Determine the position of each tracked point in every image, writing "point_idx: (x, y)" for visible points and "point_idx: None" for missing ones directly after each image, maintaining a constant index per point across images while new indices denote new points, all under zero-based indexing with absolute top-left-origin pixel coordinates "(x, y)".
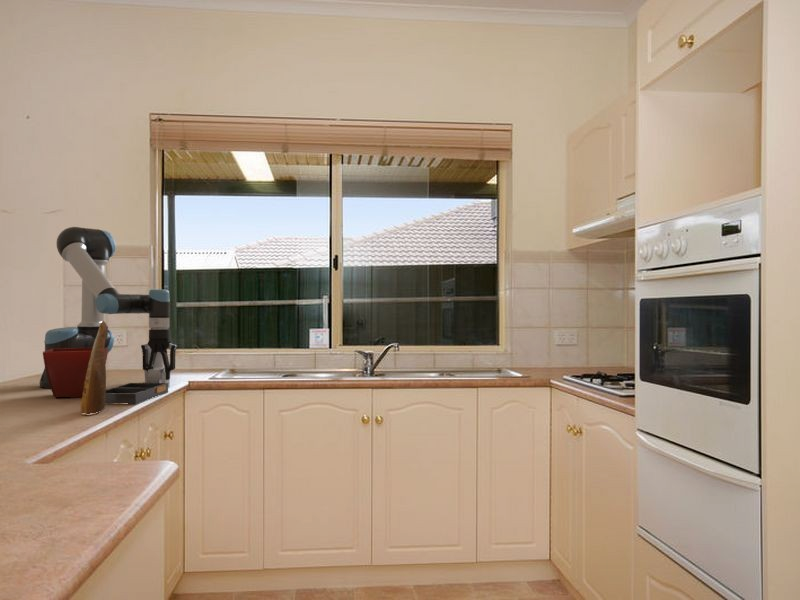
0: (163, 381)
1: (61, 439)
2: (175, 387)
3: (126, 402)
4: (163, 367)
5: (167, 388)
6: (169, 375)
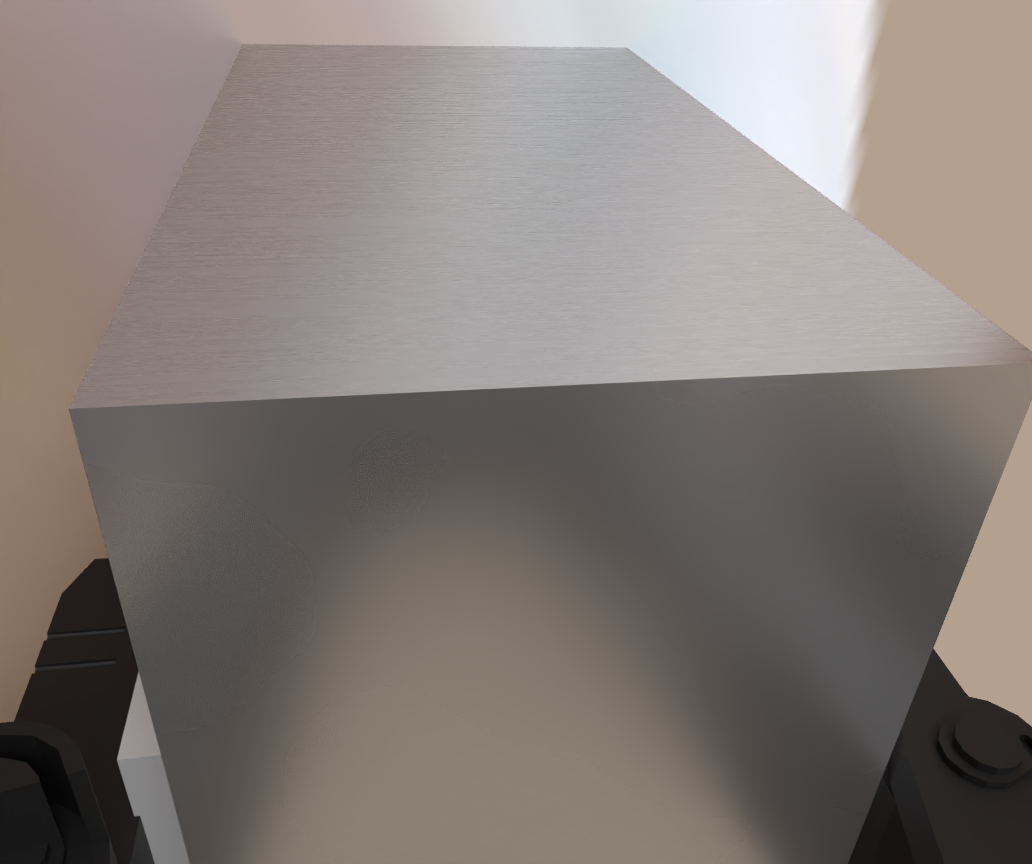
0: None
1: None
2: (819, 98)
3: None
4: (606, 540)
5: None
6: None
